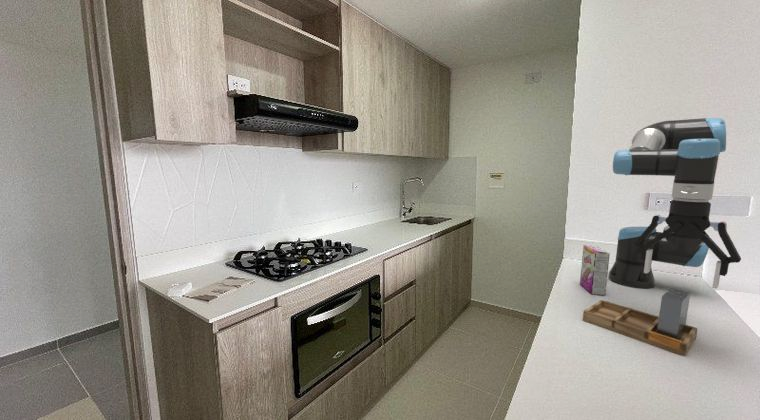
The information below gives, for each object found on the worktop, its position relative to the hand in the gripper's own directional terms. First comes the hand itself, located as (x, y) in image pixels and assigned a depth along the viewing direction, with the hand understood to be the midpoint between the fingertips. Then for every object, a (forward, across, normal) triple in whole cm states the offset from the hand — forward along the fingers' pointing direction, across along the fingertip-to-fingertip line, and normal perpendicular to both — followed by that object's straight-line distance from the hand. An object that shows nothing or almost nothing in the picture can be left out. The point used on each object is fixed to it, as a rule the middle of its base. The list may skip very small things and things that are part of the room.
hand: (678, 279), depth 85 cm
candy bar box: (+18, -27, +24) cm, 40 cm away
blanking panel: (+16, 0, 0) cm, 16 cm away
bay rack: (+17, -7, 0) cm, 19 cm away
